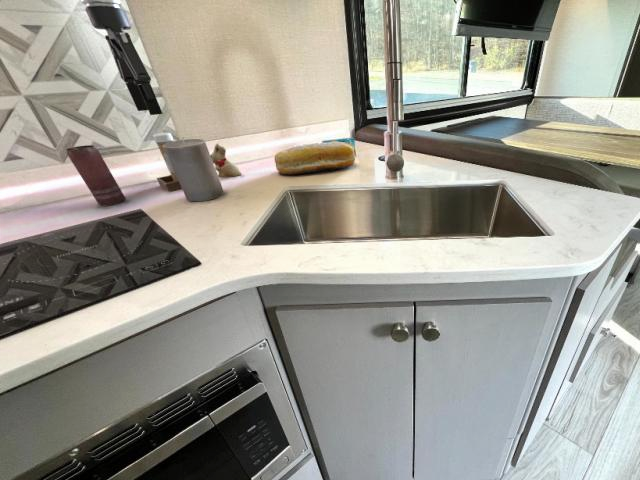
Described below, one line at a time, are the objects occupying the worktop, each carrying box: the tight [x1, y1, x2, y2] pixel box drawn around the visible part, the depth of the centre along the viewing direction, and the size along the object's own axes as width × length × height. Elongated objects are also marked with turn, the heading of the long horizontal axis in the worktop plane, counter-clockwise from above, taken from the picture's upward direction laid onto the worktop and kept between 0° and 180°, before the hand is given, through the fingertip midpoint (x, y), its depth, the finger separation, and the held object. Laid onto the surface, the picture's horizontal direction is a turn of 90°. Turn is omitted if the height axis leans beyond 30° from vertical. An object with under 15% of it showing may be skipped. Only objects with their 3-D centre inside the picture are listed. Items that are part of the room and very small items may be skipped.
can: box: [66, 144, 126, 207], centre depth 82 cm, size 6×6×14 cm
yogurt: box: [321, 136, 357, 156], centre depth 118 cm, size 12×2×6 cm, turn 112°
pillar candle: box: [162, 136, 225, 202], centre depth 84 cm, size 10×10×15 cm
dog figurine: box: [210, 142, 243, 178], centre depth 102 cm, size 6×8×10 cm
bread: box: [274, 142, 356, 176], centre depth 105 cm, size 13×26×8 cm, turn 111°
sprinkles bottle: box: [152, 132, 178, 182], centre depth 93 cm, size 5×5×13 cm
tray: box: [156, 174, 182, 193], centre depth 97 cm, size 11×9×2 cm
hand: (149, 112), depth 86 cm, fingers open, 13 cm apart
